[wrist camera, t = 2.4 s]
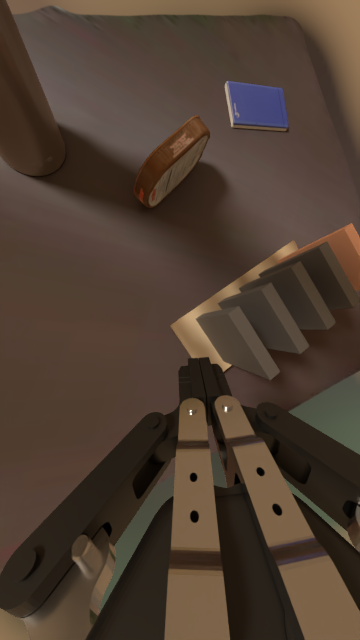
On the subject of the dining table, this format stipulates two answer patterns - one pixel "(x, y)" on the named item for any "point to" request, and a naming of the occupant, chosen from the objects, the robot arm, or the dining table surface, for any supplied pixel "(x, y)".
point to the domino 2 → (269, 318)
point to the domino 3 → (297, 296)
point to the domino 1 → (237, 341)
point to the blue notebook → (256, 106)
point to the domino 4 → (340, 252)
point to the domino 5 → (324, 276)
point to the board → (190, 328)
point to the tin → (171, 162)
